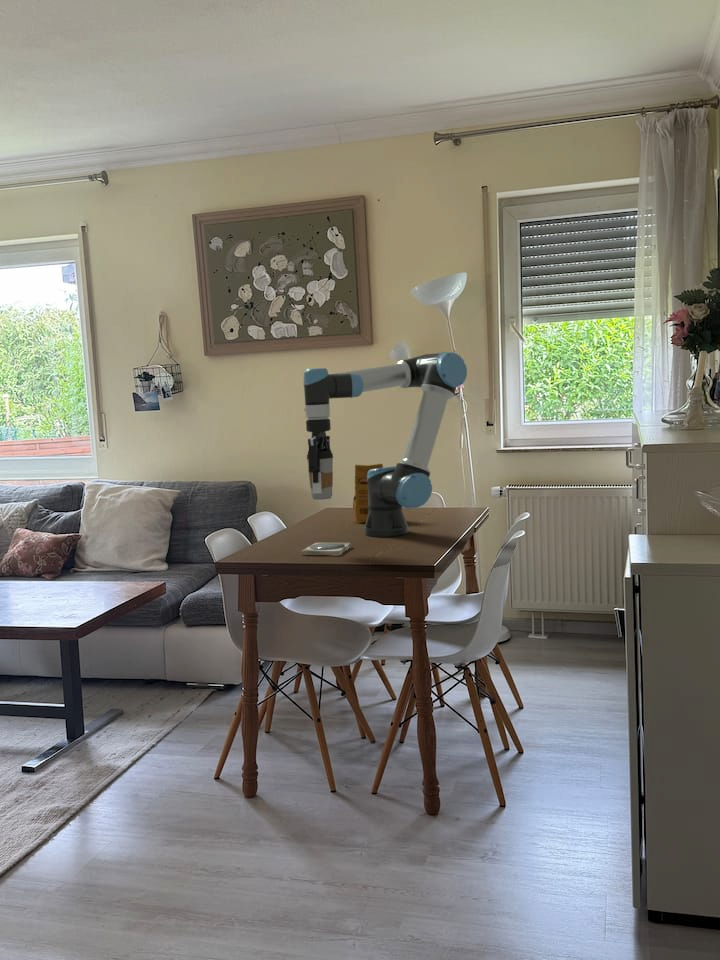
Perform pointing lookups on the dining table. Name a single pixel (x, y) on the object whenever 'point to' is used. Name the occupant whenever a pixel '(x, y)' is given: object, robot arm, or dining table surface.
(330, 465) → the coffee cup
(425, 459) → the robot arm
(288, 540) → the dining table surface
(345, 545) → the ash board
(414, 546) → the dining table surface
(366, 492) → the coffee package
